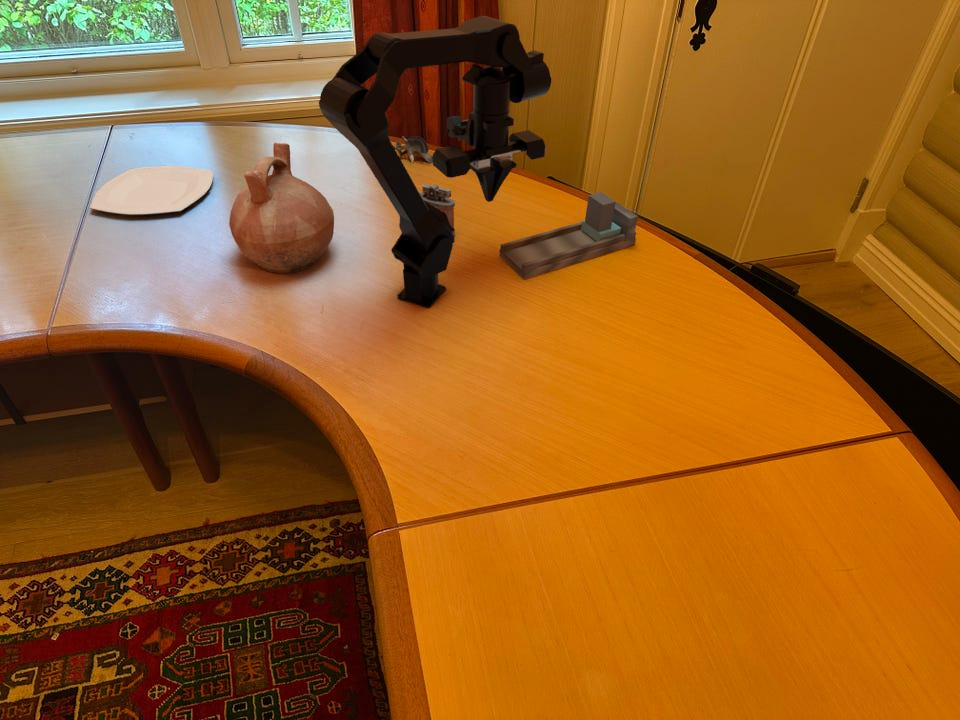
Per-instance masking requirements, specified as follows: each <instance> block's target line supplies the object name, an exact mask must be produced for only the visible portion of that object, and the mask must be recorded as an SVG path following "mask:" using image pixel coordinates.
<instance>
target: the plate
mask: <svg viewBox="0 0 960 720" xmlns="http://www.w3.org/2000/svg"><path fill="white" fill-rule="evenodd" d="M213 178H214V171H213V170H209V169H203V168H197V167H191V166H180V165H179V166H178V165H164V166H163V165H161V166H149V167H148V166H146V167H136V168H130V169H128V170H127V171H125V172H122V173H121V174H119V175H117V176H116V177H113V178H112V179H110V180H108V181H107V182H106V183H105V184H103V185H102V186H101V187H100V188H99V189H98V190H97V191H96V193H95V195H94V196H93V199H92V201H91V203H90V206H89V209H90V210H94V211H99V212H105V213H109V214H116V215H126V216H127V215H128V216H147V215H161V214H162V215H163V214H173V213H180V212H183V211H184V210H186V209H187V208H188V207H190V206H191V205H193V204H194V203H196V202H197V201H199V200H200V199H202V198H203V197H204V196H205V195H206V194H207V193H208V192H209V190H210V188H211V187H212V183H213Z"/></svg>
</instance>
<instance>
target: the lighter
mask: <svg viewBox="0 0 960 720" xmlns="http://www.w3.org/2000/svg"><path fill="white" fill-rule="evenodd" d="M421 186H422V187H421V188H422V189H421V190H422V192H419V193H420V195H421V197H422V199H423V200H424V201H426V202H428V203H429V204H431V205H433V206H434V207H436V208H438V209H439V210H441V211H443V212H444V213H445V214H446V215H447V217H448V220H449V223H450V225H451V227H453V228H454V229H455V206H456V203H455V202H456V201H455V200H454V199H452V198H451V197H452V191H451V189H448V188H444V187H440V186H439V185H438V184H436V183H435V184H433V185H430V184H424V183H423V184H422V185H421ZM452 233H453V235H454V238H455V237H456V230H455V231H453V232H452Z"/></svg>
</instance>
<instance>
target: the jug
mask: <svg viewBox="0 0 960 720" xmlns="http://www.w3.org/2000/svg"><path fill="white" fill-rule="evenodd" d="M272 151H273V156H265V157H262V158H261V159H259V160H258V161H257V163H256V164H255V167H254V170H253V171H250V170H248V171H245V172H244V174H243V176H244V178H245V179H244V180H245V181H246V184H247V185H246V186H245V187H243V188H242V189H241V190H240V192H239V193H238V194H237V196H236V198H235V199H234V202H233V204H232V207H231V209H230V215H229V221H228V222H229V223H228V225H229V229H230V233H231V235H232V236H231V237H232V238H233V240H234V242H235V243H236V245H237V247H238V248H239V250H240V252H242V254H244V255H245V256H246V257H247V258H249V260H251V261H252V262H253V263H255V264H256V265H258V266H260V267H261V268H262V269H263V270H265V271H267V272H270V273H275V274H289V273H294V272H298V271H301V270H304V269H306V268H308V267H311V266H312V265H313V264H314V263H316V262H317V261H318V260H319V258H320V257H321V256H322V254H324V252H325V251H326V249H327V248H328V247H329V245H330V243H331V241H332V239H333V236H334V230H335V213H334V209H333V208H332V207H331V205H330V203H329V202H328V200H327V198H326V197H325V196H324V195H323V194H322V193H321V192H320V191H319V190H318V189H316V188H315V187H314V186H312V185H311V184H309V183H308V182H307V181H305V180H302V179H300V178H298V177H297V176H294V175H293V174H292V171H291V167H292V166H291V147H290V144H288V143H287V142H285V143H283V142H274V143H273V150H272ZM271 168H273V169H272V172H271V174H270V175H269V173H270V170H271Z"/></svg>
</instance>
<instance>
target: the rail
mask: <svg viewBox="0 0 960 720" xmlns="http://www.w3.org/2000/svg"><path fill="white" fill-rule="evenodd" d="M608 197H609V196H608ZM609 198H611V197H609ZM611 199H612V198H611ZM612 200H614V199H612ZM638 219H639V215H637V214H636V213H634V212H633V211H631V210H629V209H628V208H626V207H625V206H623V205H622V204H620V203H619V202H617V201H616V203H615V209H614V214H613V219H612V222H613V223H615V224H616V225H618V226H619V227H621V233H620V235H617V236H614V237H610V238H607V239H604V240H600V241H596V240H594V239H593V238H592V237H590V236H589V235H588V234H586V233H585V232H584V231H582V230H581V226H582V221H580V222H576V223H572V224H569V225H566V226H563V227H559V228H554V229H551V230H547V231H544V232H540V233H536V234H533V235H530V236H526V237H523V238H519V239H515V240H512V241H507V242H505V243H502V244H500V248H499V253H498V255H499V257H500V258H501V259H502V260H503V261H504V262H505V263H506V264H507V265H508V266H509V267H510V268H512V270H514V271H515V272H516V273H517V274H518V275H519V276H520V277H522V279H524V280H527V279H530V278H534V277H537V276H540V275H543V273H544V274H546V273H549V272H553V271H556V270H559V269H563V268H566V267H568V266H572V265H575V264H578V263H579V264H580V263H583V262H586V261H588V260H591V259H594V258H598V257H602V256H604V255H607V254H610V253H614V252H617V251H621V250H623V249H626V248H629V247H633V246H635V245H636V241H637V237H636V236H637V232H636V228H637V223H638ZM533 276H534V277H533Z"/></svg>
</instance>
